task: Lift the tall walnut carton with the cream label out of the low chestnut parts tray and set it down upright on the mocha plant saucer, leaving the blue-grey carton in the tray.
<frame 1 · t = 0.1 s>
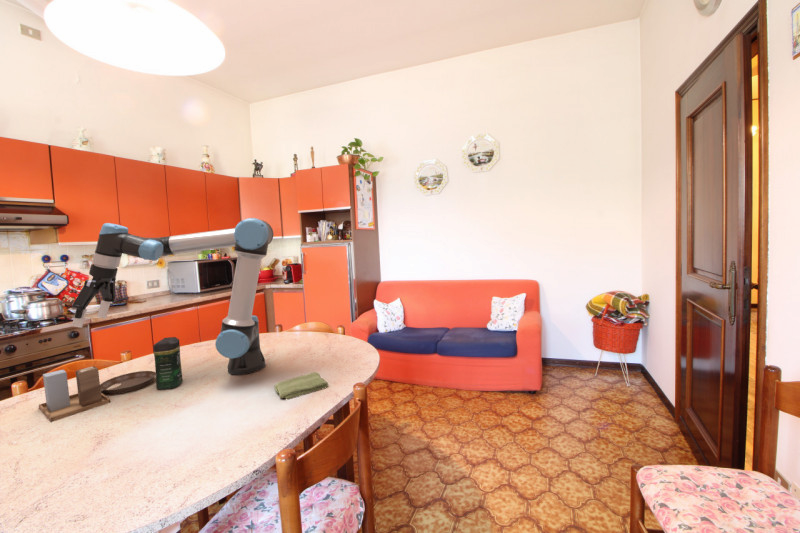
hand: (89, 322, 125), 28 cm above the table, tool tilted 20°, fingers open, 13 cm apart
plant saucer: (129, 387, 135), on the table
plain carton: (58, 406, 119), resting on parts tray
coffee jar: (170, 385, 135), on the table
labelled carton: (90, 402, 121), resting on parts tray
parts tray: (75, 406, 120), on the table
washcloth: (301, 389, 128), on the table
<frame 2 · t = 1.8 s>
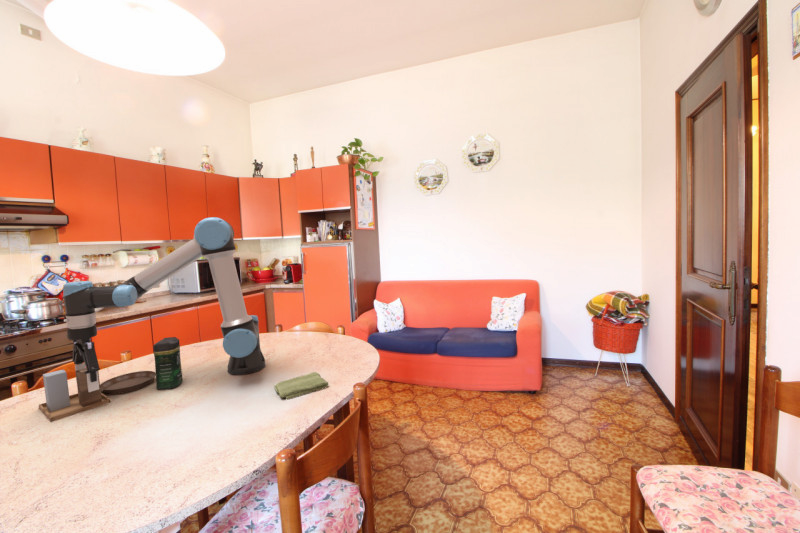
hand: (87, 386, 121), 6 cm above the table, tool pointing down, fingers open, 13 cm apart
nothing on the table moved.
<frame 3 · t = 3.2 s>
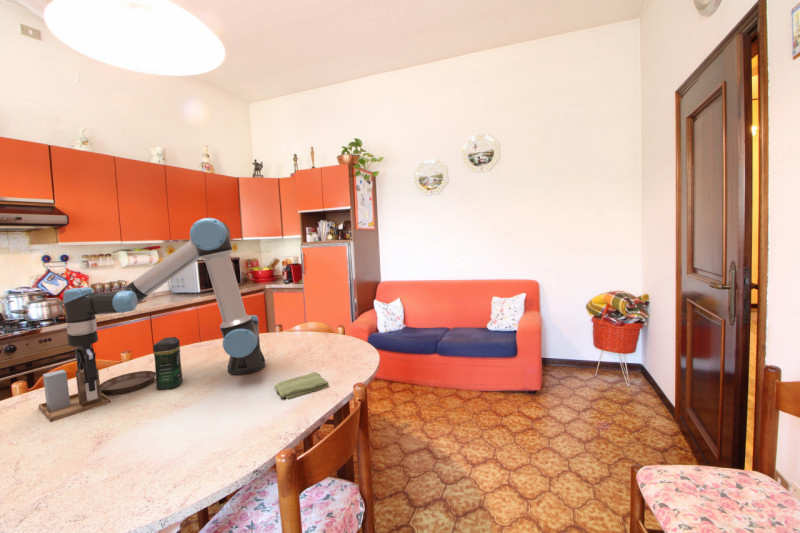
hand: (90, 397, 121), 2 cm above the table, tool pointing down, fingers closed on labelled carton, 4 cm apart
labelled carton: (90, 402, 121), resting on parts tray, touching gripper
everything else where it was.
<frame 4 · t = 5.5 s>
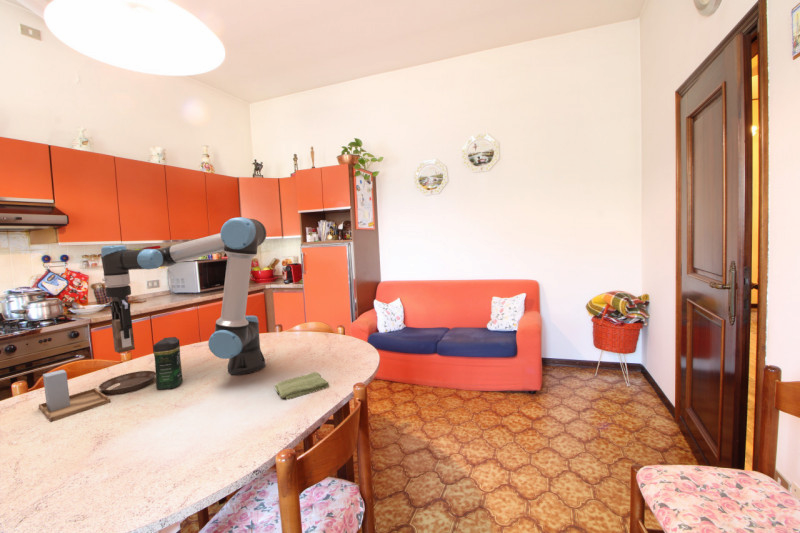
hand: (124, 345, 134), 16 cm above the table, tool pointing down, fingers closed on labelled carton, 4 cm apart
labelled carton: (124, 350, 134), point 15 cm above the table, touching gripper
everything else where it was.
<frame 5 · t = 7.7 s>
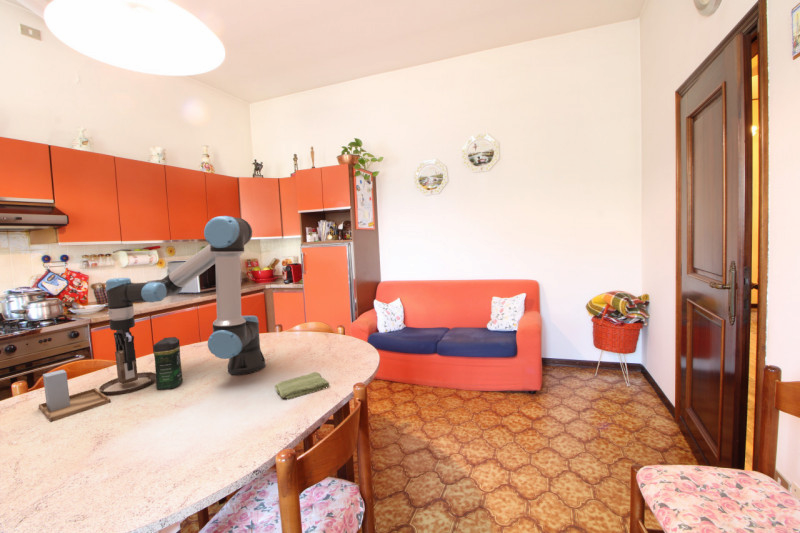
hand: (127, 376, 135), 4 cm above the table, tool pointing down, fingers closed on labelled carton, 4 cm apart
plant saucer: (129, 388, 135), on the table, touching labelled carton
labelled carton: (128, 380, 135), point 2 cm above the table, touching gripper, plant saucer
everything else where it was.
when the fingers open (4 cm above the table, at t = 8.1 s): labelled carton stays where it is, resting on plant saucer.
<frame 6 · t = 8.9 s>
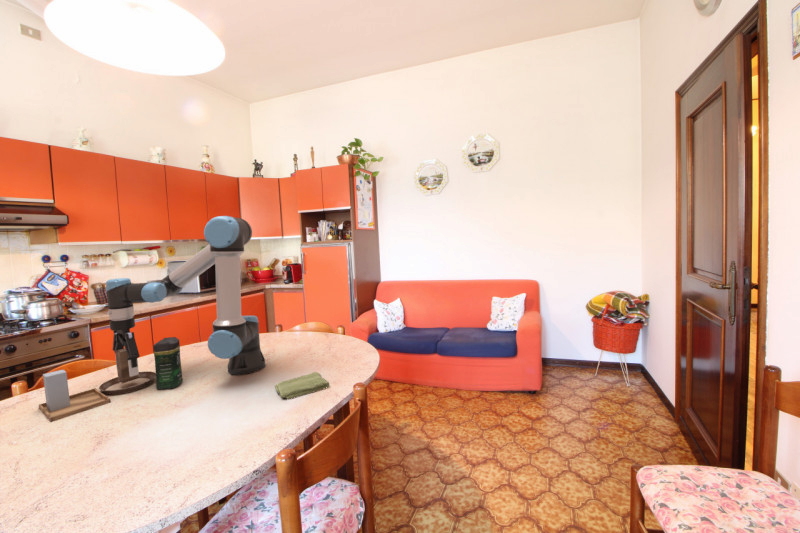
hand: (127, 372, 135), 6 cm above the table, tool pointing down, fingers open, 13 cm apart
labelled carton: (128, 379, 135), point 3 cm above the table, touching plant saucer
everything else where it was.
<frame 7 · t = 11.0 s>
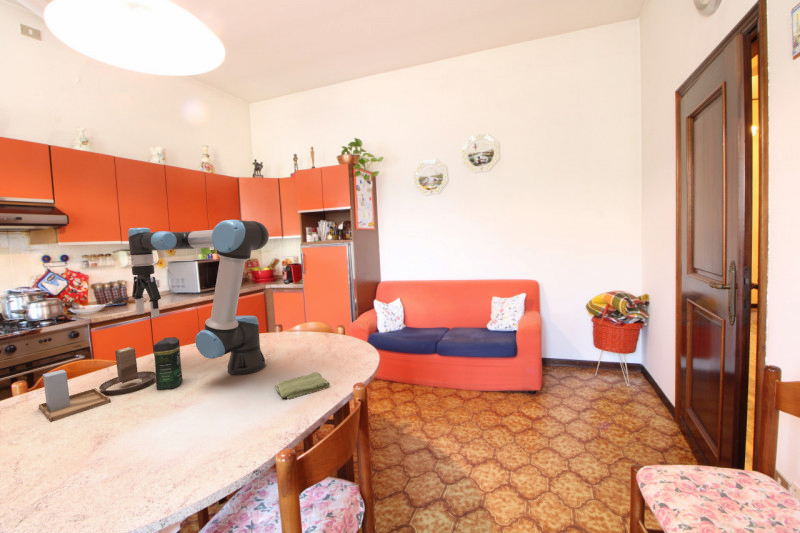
hand: (148, 315, 146), 25 cm above the table, tool pointing down, fingers open, 13 cm apart
nothing on the table moved.
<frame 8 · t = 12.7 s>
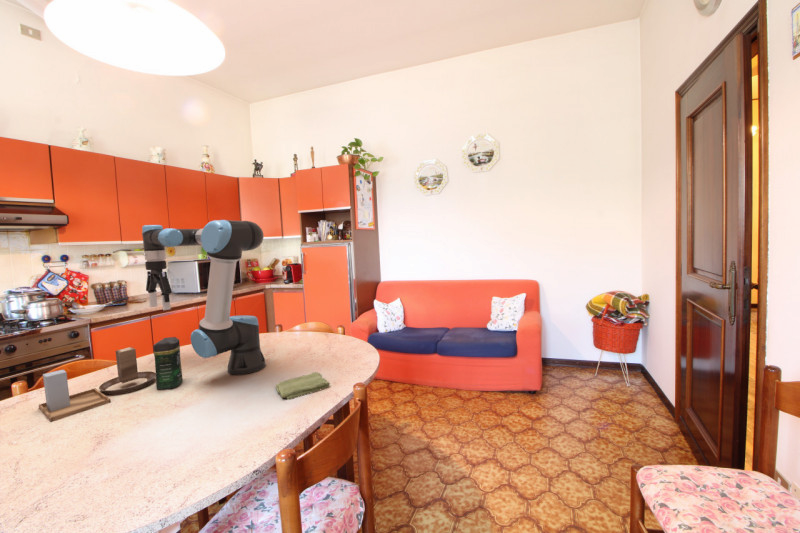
hand: (160, 308, 153), 27 cm above the table, tool pointing down, fingers open, 13 cm apart
nothing on the table moved.
at the end: labelled carton 0.3 cm from the plant saucer (horizontally); labelled carton tilted 1°; labelled carton point 2.7 cm above the table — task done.
